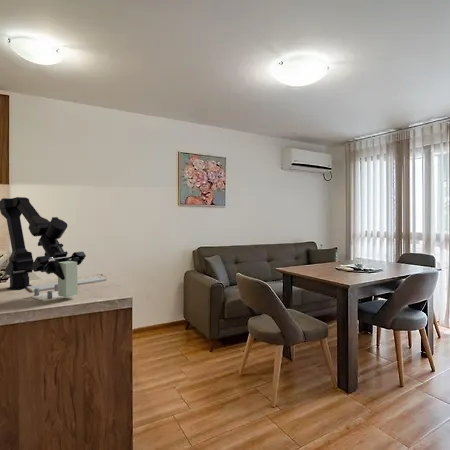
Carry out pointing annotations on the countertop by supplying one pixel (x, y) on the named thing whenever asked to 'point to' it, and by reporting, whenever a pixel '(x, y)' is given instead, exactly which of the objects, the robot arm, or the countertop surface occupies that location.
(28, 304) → the countertop surface
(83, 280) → the grey bar clamp
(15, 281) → the robot arm
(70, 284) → the pale green rectangular block
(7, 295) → the countertop surface
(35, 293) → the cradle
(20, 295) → the countertop surface
